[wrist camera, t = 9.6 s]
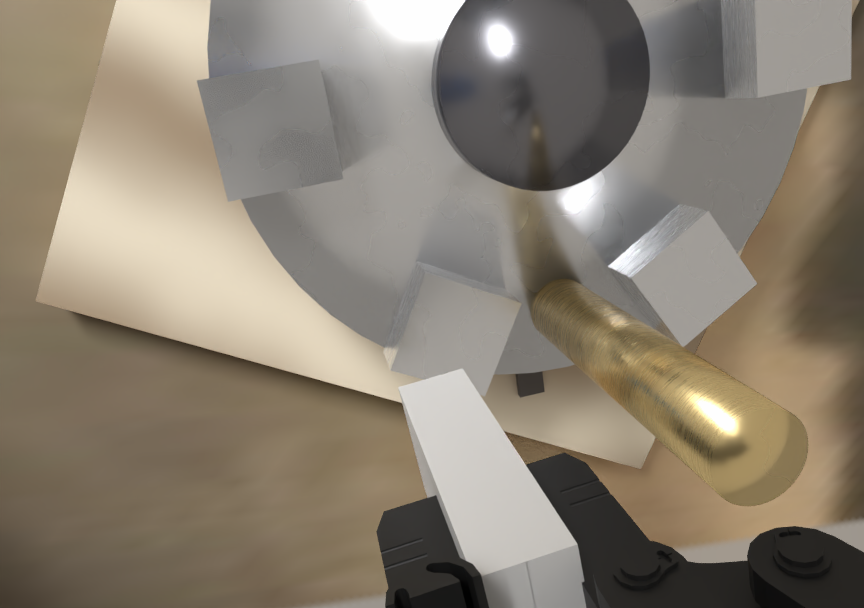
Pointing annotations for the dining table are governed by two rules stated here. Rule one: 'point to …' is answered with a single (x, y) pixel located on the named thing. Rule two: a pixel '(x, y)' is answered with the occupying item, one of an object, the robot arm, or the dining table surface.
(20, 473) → the dining table surface
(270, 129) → the metal lathe chuck
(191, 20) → the birch base board
